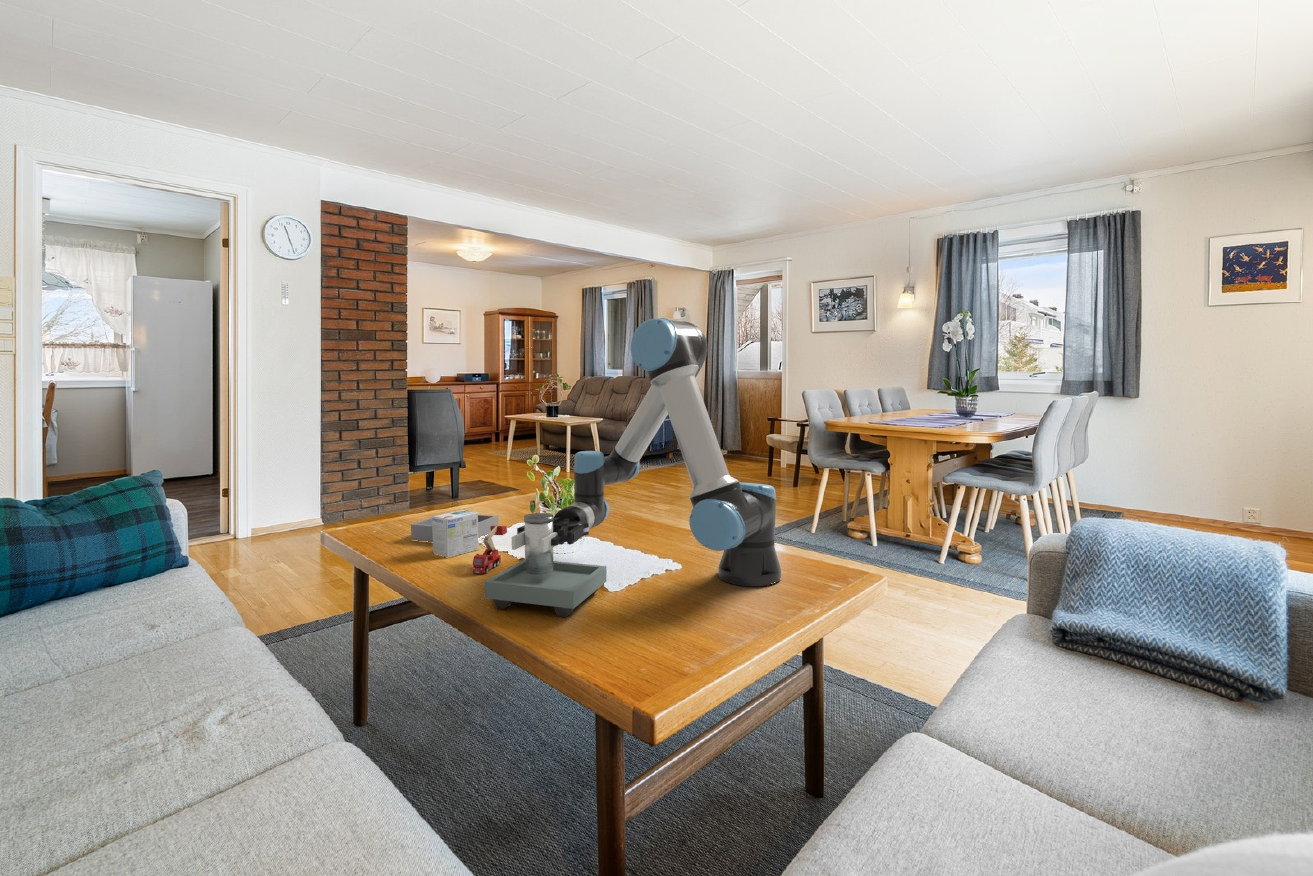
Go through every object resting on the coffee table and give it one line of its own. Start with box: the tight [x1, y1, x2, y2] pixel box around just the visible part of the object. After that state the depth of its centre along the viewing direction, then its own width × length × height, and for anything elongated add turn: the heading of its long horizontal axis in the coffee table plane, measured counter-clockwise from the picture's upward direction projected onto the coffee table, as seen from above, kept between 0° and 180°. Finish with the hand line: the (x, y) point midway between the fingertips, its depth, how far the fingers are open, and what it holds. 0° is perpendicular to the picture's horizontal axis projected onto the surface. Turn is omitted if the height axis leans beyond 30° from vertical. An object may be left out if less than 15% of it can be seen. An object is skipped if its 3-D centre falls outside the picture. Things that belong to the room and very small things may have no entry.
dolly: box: [483, 558, 607, 618], centre depth 140 cm, size 20×18×6 cm
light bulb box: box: [431, 509, 479, 558], centre depth 178 cm, size 11×7×11 cm, turn 144°
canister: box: [523, 512, 554, 575], centre depth 140 cm, size 6×6×12 cm
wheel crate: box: [410, 511, 499, 542], centre depth 195 cm, size 18×18×5 cm
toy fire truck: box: [472, 525, 508, 574], centre depth 164 cm, size 3×14×10 cm, turn 169°
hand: (527, 544), depth 135 cm, fingers closed on canister, 6 cm apart
